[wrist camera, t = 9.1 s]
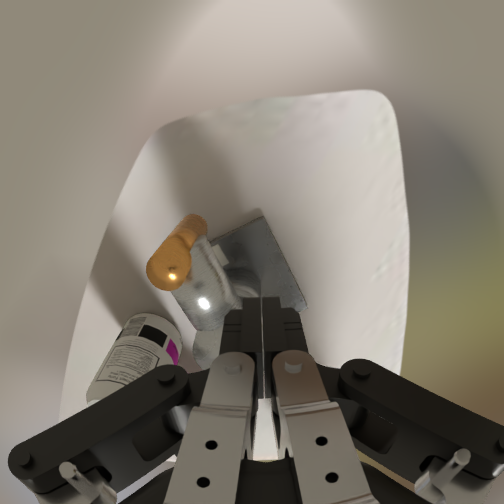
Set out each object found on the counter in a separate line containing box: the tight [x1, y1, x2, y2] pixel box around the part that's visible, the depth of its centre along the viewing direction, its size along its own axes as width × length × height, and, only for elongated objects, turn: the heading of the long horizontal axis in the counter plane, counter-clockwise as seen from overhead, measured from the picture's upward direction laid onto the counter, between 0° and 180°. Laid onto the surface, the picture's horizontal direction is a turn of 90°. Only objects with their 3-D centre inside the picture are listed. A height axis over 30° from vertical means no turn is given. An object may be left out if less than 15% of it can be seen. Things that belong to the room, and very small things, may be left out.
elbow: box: [146, 214, 264, 371], centre depth 24 cm, size 14×6×9 cm, turn 25°
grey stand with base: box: [209, 216, 308, 312], centre depth 30 cm, size 12×12×8 cm
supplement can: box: [86, 313, 183, 408], centre depth 30 cm, size 8×8×15 cm
